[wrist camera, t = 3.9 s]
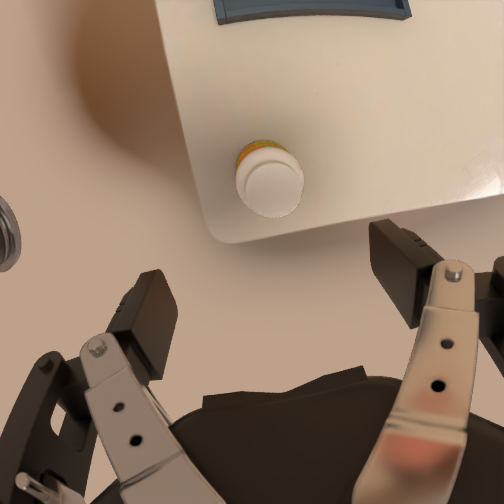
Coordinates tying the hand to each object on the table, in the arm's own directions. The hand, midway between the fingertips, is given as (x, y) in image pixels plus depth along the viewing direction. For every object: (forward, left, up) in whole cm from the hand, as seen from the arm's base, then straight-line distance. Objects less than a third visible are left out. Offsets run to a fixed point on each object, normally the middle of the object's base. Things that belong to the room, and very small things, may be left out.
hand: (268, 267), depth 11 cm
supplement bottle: (+1, 0, -20) cm, 20 cm away
